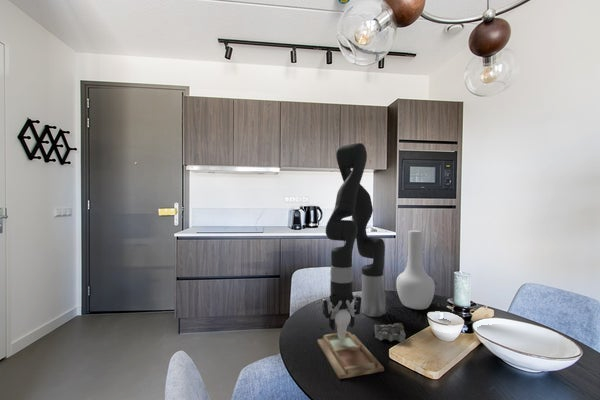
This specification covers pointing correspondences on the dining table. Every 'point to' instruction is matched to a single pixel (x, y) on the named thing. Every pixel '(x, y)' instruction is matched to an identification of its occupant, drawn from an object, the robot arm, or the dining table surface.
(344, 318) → the lightbulb
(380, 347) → the dining table surface
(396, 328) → the egg carton
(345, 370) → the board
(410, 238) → the vase
